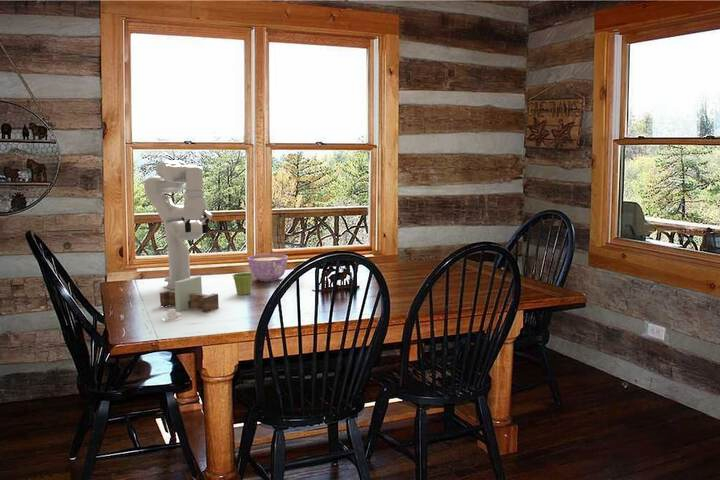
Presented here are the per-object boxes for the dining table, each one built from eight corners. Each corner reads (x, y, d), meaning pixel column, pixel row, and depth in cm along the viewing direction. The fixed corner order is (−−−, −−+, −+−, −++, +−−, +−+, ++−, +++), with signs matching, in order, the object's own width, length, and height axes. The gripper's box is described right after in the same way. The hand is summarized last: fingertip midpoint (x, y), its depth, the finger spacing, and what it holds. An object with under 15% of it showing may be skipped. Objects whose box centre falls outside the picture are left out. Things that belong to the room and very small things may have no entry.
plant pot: (249, 296, 308) (249, 277, 307) (230, 295, 310) (229, 276, 309) (257, 291, 318) (256, 273, 316) (237, 291, 319) (237, 272, 318)
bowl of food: (286, 284, 333) (285, 260, 332) (244, 284, 334) (243, 260, 332) (290, 276, 353) (290, 253, 352) (251, 276, 354) (250, 254, 352)
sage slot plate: (175, 310, 283) (174, 282, 281) (198, 303, 296) (197, 275, 294) (180, 311, 282) (178, 282, 280) (202, 304, 295) (201, 276, 293)
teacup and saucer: (176, 316, 276) (175, 306, 276) (188, 319, 271) (187, 308, 271) (157, 320, 270) (156, 310, 269) (169, 323, 265) (168, 313, 264)
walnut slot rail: (160, 306, 291) (159, 292, 290) (173, 302, 298) (172, 289, 297) (206, 312, 280) (205, 297, 279) (218, 308, 287) (218, 293, 286)
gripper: (173, 194, 307) (175, 232, 309) (204, 195, 299) (206, 234, 301) (185, 193, 313) (187, 230, 316) (215, 194, 306) (217, 232, 308)
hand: (196, 232), depth 309 cm, fingers open, 9 cm apart
